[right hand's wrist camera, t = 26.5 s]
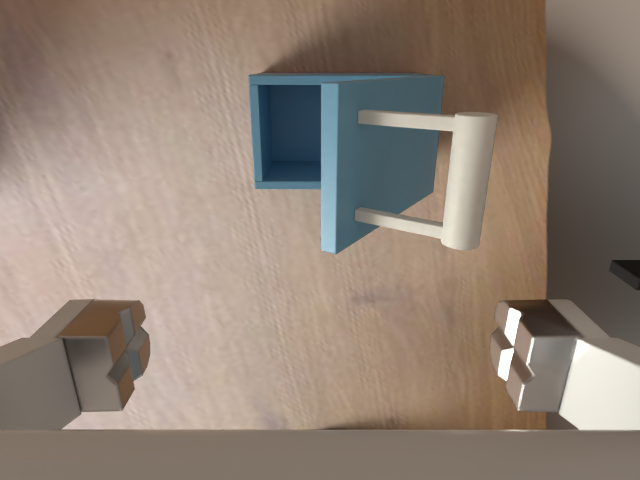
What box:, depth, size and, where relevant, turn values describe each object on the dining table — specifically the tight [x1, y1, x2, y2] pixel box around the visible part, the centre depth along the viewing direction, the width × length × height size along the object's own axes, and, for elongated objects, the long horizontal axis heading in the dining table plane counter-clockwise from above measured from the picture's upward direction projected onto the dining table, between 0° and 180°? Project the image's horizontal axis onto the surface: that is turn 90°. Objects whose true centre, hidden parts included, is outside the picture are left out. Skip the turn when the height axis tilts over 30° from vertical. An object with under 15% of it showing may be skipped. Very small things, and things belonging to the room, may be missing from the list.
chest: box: [249, 72, 430, 189], centre depth 41 cm, size 15×9×9 cm, turn 90°
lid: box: [321, 75, 498, 254], centre depth 28 cm, size 16×9×8 cm
